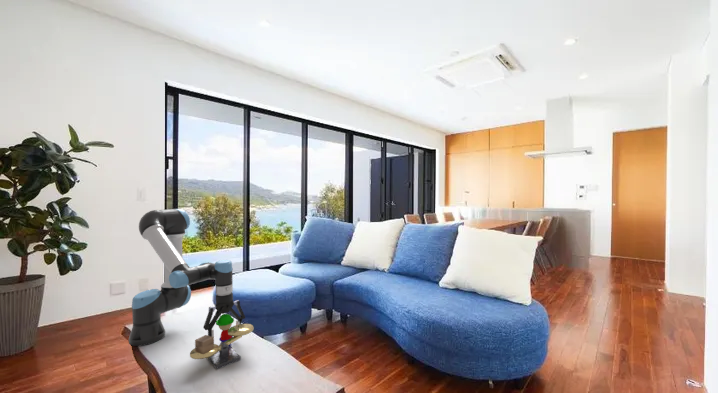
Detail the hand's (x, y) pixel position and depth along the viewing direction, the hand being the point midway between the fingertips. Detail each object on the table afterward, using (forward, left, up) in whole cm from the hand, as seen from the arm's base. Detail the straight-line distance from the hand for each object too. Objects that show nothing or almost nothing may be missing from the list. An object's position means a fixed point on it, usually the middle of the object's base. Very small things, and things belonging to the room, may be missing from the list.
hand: (225, 338), depth 147 cm
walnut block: (+12, -13, +3) cm, 18 cm away
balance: (+12, -5, -3) cm, 13 cm away
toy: (0, 0, -3) cm, 3 cm away
